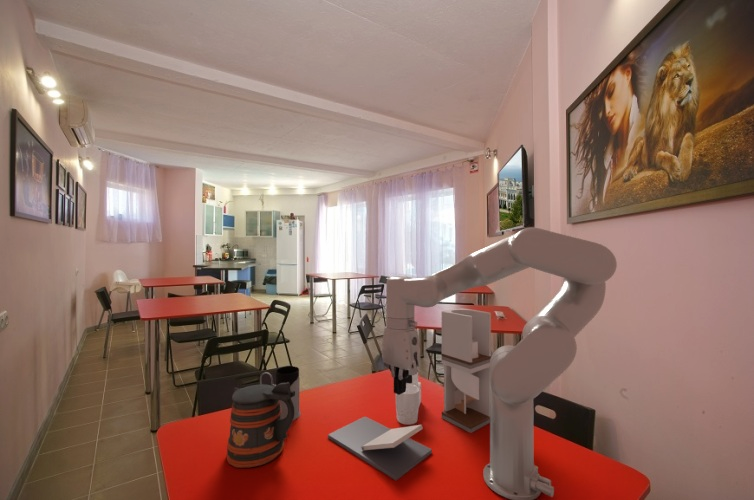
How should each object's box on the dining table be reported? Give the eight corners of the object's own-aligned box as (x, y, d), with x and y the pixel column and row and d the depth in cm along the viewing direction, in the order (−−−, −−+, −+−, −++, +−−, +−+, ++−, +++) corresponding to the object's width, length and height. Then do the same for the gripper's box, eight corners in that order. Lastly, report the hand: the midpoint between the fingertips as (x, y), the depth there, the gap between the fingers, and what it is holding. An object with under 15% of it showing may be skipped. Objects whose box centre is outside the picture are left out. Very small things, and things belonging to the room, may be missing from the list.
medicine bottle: (397, 407, 114) (397, 373, 115) (402, 399, 121) (402, 366, 121) (417, 410, 112) (417, 375, 112) (421, 401, 119) (421, 368, 119)
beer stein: (307, 442, 93) (307, 372, 93) (281, 476, 79) (282, 393, 79) (248, 434, 97) (249, 366, 98) (213, 464, 83) (214, 386, 83)
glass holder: (294, 422, 104) (294, 375, 104) (253, 419, 106) (253, 372, 106) (304, 409, 113) (304, 366, 113) (266, 406, 115) (266, 364, 115)
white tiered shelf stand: (441, 418, 107) (441, 311, 108) (462, 408, 114) (461, 308, 114) (470, 433, 98) (470, 316, 99) (491, 422, 105) (490, 312, 105)
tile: (390, 429, 97) (391, 433, 96) (360, 446, 88) (362, 450, 88) (421, 424, 89) (423, 429, 88) (392, 443, 80) (394, 447, 80)
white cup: (419, 414, 110) (419, 384, 110) (419, 426, 102) (419, 394, 102) (395, 413, 110) (395, 383, 111) (394, 425, 103) (394, 393, 103)
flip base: (431, 453, 88) (431, 449, 88) (395, 480, 77) (396, 476, 77) (364, 419, 106) (364, 416, 106) (328, 438, 95) (328, 434, 95)
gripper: (431, 325, 84) (431, 396, 84) (388, 317, 95) (388, 380, 94) (414, 330, 79) (413, 406, 79) (370, 321, 89) (369, 388, 89)
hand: (399, 392), depth 86 cm, fingers closed
